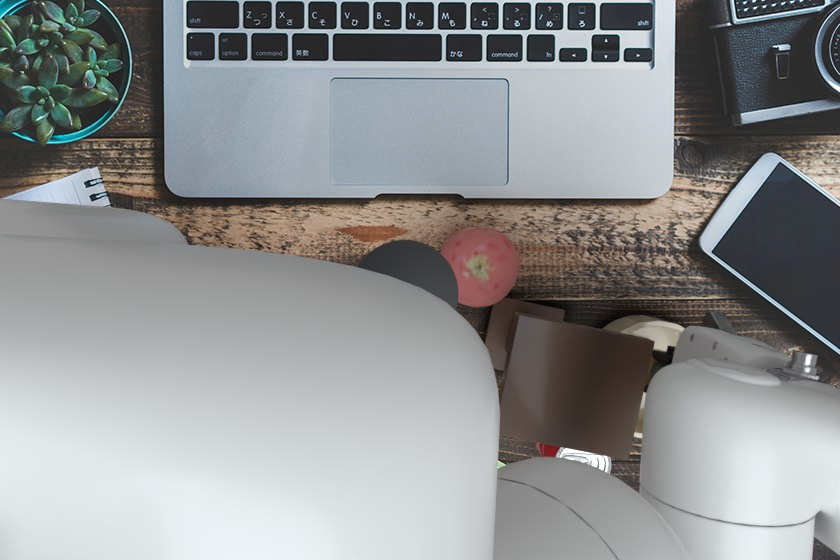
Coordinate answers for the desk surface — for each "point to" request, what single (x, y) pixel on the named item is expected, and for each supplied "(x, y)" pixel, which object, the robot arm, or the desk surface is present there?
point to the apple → (481, 265)
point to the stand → (566, 379)
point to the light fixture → (415, 267)
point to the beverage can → (575, 456)
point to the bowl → (652, 329)
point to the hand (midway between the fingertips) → (665, 374)
